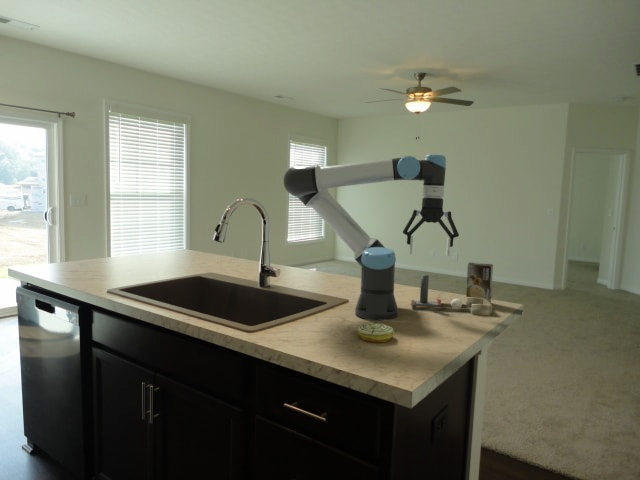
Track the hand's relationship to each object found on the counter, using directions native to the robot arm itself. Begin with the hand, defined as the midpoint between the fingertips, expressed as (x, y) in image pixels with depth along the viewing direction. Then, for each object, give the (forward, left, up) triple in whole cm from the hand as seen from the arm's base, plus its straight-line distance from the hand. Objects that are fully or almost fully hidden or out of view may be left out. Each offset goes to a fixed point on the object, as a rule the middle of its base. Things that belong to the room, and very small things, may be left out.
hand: (428, 254), depth 169 cm
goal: (+19, 0, -20) cm, 28 cm away
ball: (+11, 0, -18) cm, 21 cm away
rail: (+5, 0, -20) cm, 21 cm away
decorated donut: (-19, -39, -21) cm, 48 cm away
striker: (0, 0, -20) cm, 20 cm away
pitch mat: (+8, 0, -21) cm, 22 cm away
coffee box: (+21, +12, -21) cm, 32 cm away
